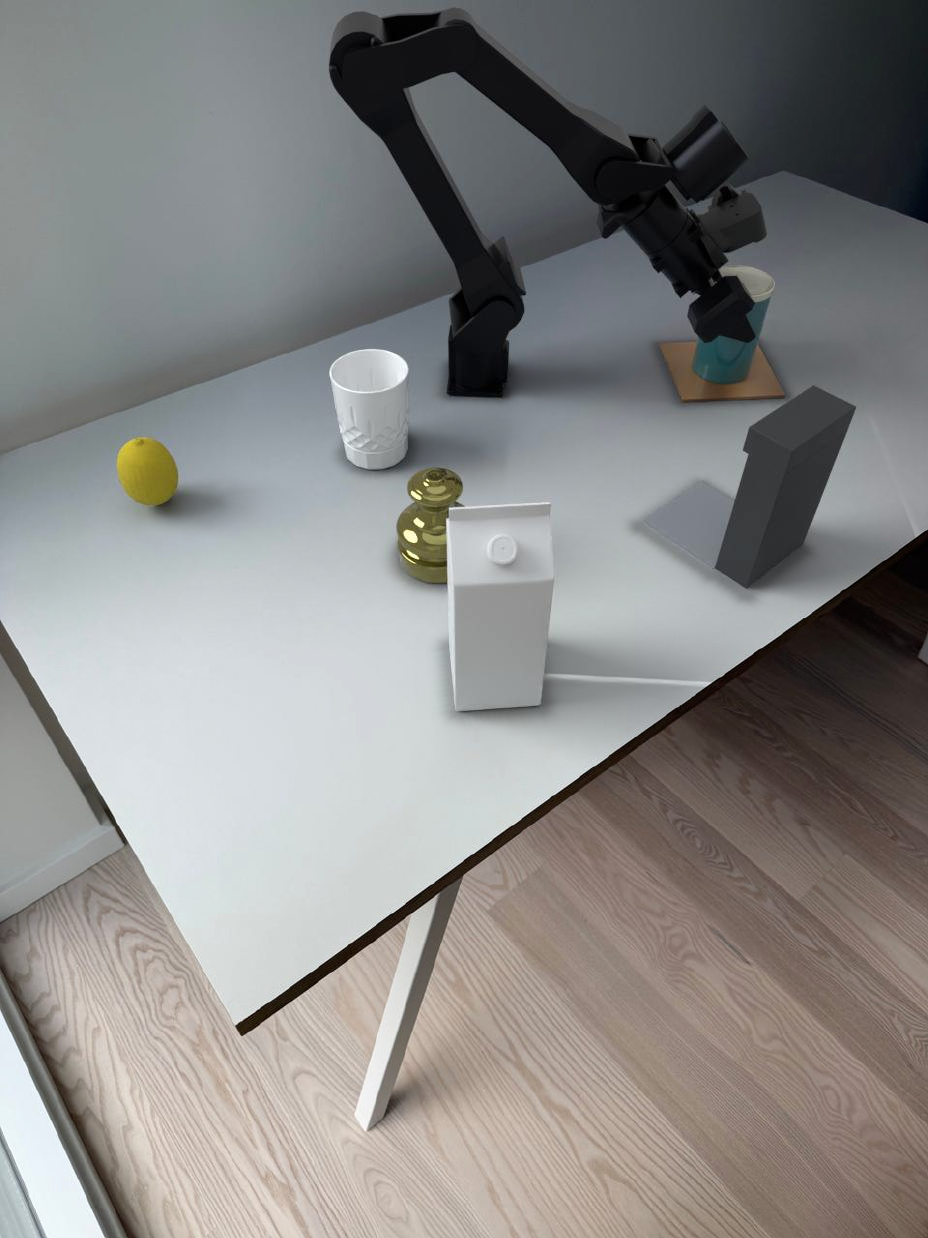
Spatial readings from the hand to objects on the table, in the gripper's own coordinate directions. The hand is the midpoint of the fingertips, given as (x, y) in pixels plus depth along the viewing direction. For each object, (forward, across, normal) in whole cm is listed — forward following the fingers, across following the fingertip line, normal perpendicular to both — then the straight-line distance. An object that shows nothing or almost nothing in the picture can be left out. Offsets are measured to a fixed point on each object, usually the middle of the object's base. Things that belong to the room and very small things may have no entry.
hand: (743, 322), depth 102 cm
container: (+3, 0, +5) cm, 6 cm away
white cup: (-26, -12, +35) cm, 45 cm away
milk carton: (-19, -44, +28) cm, 55 cm away
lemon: (-41, -19, +50) cm, 68 cm away
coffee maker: (-2, -29, +11) cm, 31 cm away
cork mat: (+3, 0, +5) cm, 6 cm away
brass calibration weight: (-21, -29, +30) cm, 47 cm away
